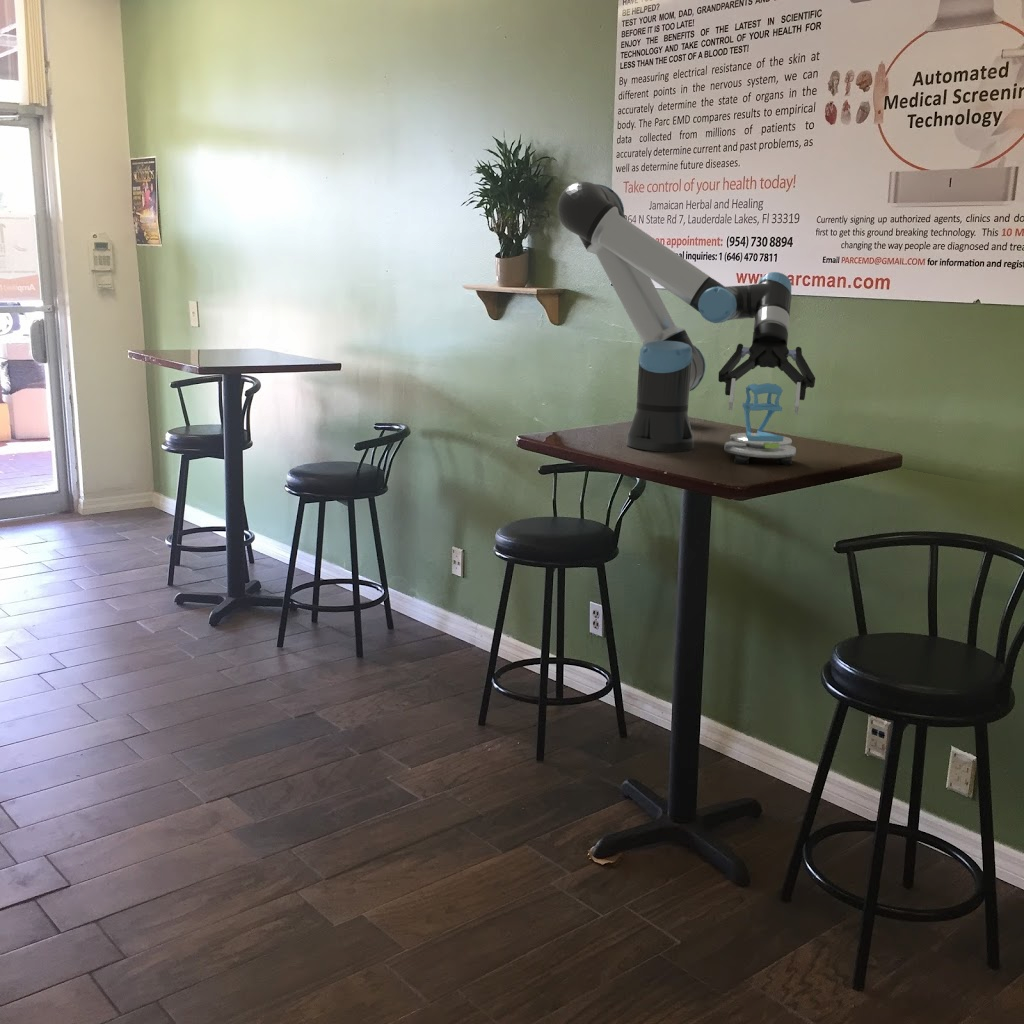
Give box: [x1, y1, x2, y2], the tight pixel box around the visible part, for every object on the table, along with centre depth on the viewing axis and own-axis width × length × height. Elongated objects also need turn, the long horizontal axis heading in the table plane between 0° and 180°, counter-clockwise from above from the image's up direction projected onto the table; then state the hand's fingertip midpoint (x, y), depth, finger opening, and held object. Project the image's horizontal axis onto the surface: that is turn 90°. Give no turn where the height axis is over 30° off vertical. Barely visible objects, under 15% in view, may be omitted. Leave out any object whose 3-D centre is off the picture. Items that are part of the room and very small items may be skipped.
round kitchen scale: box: [724, 432, 797, 466], centre depth 229 cm, size 15×15×5 cm
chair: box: [742, 382, 784, 441], centre depth 227 cm, size 8×8×12 cm
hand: (763, 408), depth 225 cm, fingers open, 13 cm apart
